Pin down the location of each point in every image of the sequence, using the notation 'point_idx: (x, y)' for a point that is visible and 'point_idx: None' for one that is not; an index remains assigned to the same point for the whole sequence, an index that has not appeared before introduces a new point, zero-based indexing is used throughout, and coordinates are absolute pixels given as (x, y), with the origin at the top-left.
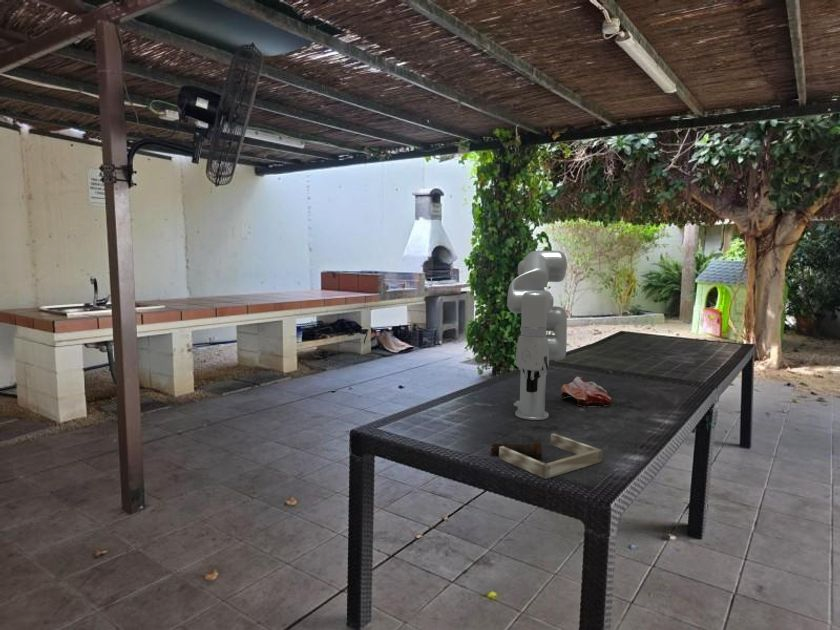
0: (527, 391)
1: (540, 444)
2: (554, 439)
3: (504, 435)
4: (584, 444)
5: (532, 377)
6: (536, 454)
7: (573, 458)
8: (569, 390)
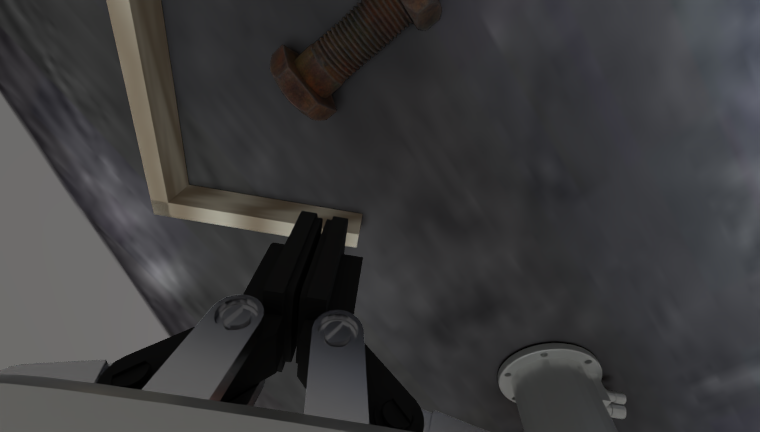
0: (334, 216)
1: (275, 76)
2: None
3: (536, 187)
4: (221, 221)
5: (231, 324)
6: (296, 55)
7: (120, 62)
8: None
